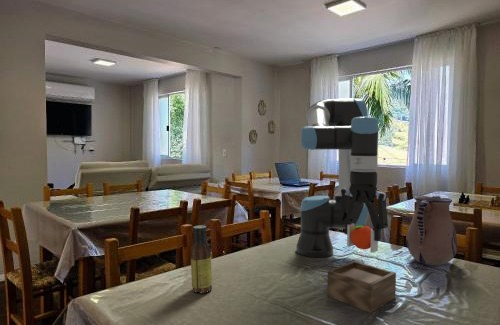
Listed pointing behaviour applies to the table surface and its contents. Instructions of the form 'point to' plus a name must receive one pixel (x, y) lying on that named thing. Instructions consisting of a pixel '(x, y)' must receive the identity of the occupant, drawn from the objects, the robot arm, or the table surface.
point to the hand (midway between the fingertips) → (362, 248)
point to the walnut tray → (361, 285)
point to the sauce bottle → (201, 261)
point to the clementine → (361, 237)
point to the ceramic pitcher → (432, 231)
